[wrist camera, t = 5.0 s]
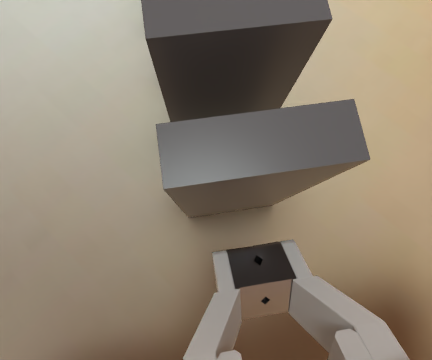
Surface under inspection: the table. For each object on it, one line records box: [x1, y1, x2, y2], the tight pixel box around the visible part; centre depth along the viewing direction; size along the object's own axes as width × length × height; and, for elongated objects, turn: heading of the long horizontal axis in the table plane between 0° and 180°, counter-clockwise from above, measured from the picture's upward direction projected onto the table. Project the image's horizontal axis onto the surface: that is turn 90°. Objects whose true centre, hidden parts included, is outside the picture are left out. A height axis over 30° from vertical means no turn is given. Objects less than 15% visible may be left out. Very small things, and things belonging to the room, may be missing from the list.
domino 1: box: [141, 0, 332, 122], centre depth 12 cm, size 2×5×10 cm, turn 99°
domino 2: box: [156, 99, 370, 218], centre depth 12 cm, size 2×5×10 cm, turn 99°
